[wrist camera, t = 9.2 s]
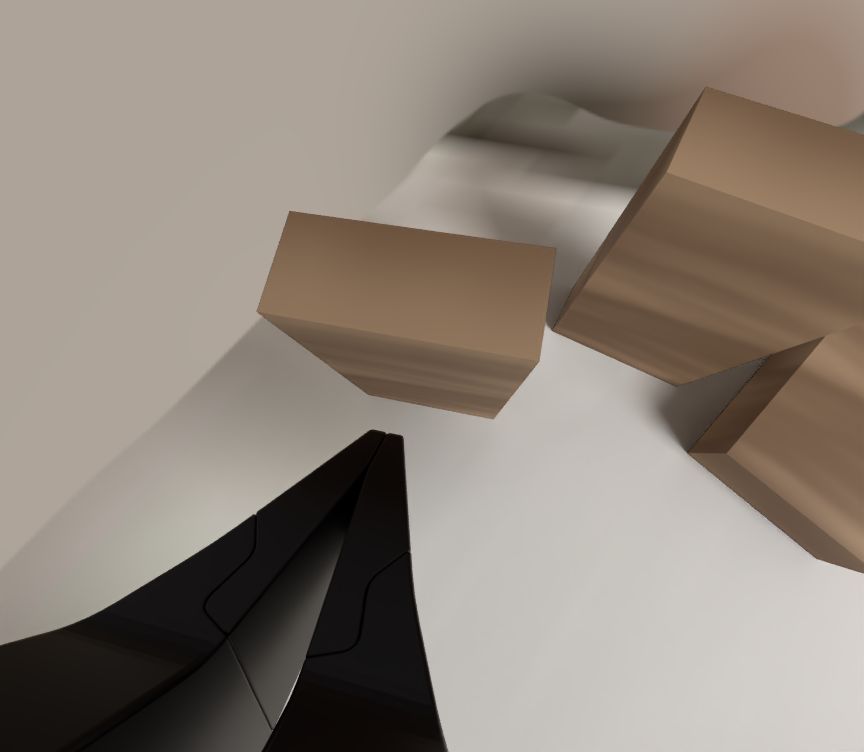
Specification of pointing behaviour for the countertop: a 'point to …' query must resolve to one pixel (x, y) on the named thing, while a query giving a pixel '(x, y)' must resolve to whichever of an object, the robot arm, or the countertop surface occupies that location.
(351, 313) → the tile two
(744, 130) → the light brown wooden block
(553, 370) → the countertop surface
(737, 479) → the wooden block
